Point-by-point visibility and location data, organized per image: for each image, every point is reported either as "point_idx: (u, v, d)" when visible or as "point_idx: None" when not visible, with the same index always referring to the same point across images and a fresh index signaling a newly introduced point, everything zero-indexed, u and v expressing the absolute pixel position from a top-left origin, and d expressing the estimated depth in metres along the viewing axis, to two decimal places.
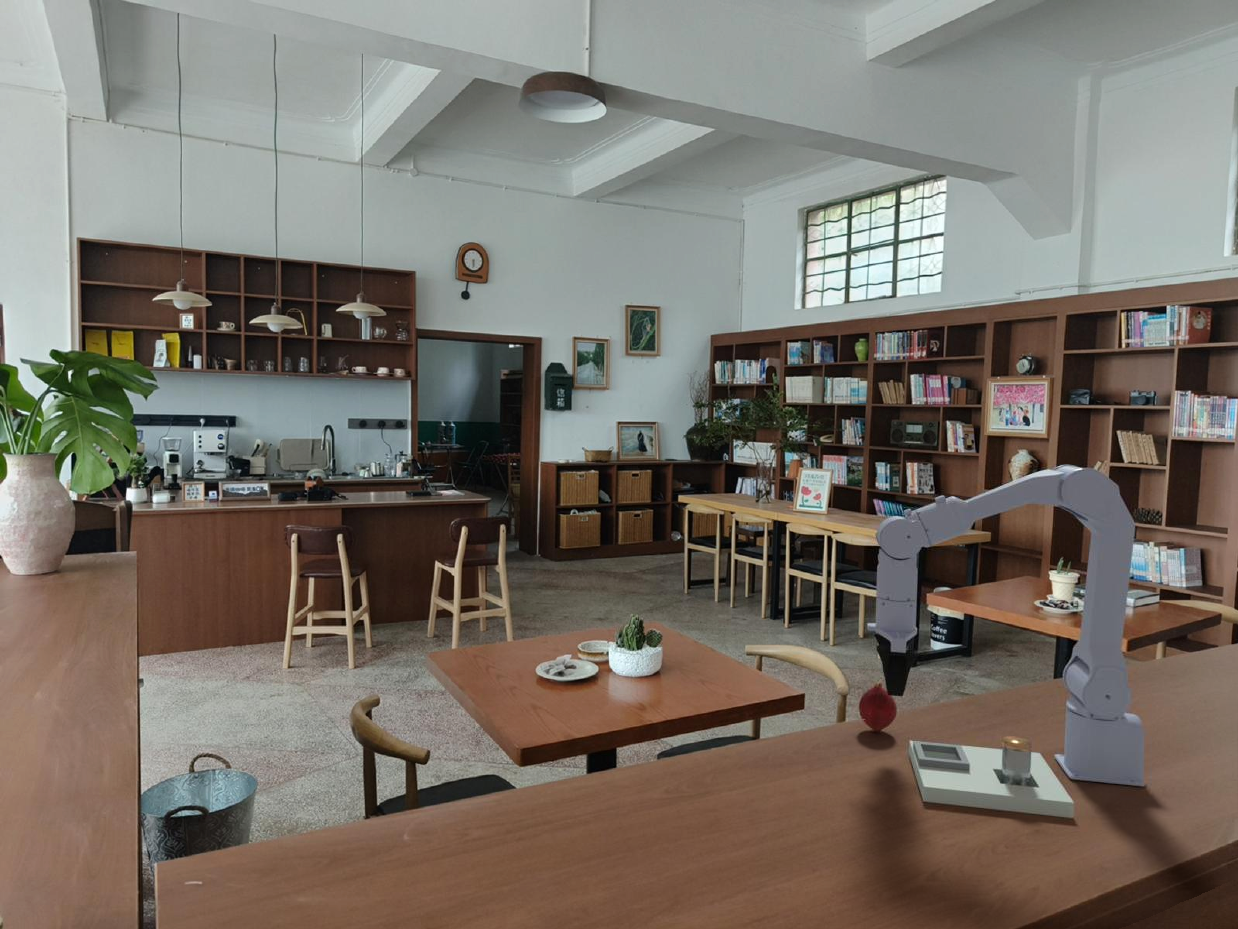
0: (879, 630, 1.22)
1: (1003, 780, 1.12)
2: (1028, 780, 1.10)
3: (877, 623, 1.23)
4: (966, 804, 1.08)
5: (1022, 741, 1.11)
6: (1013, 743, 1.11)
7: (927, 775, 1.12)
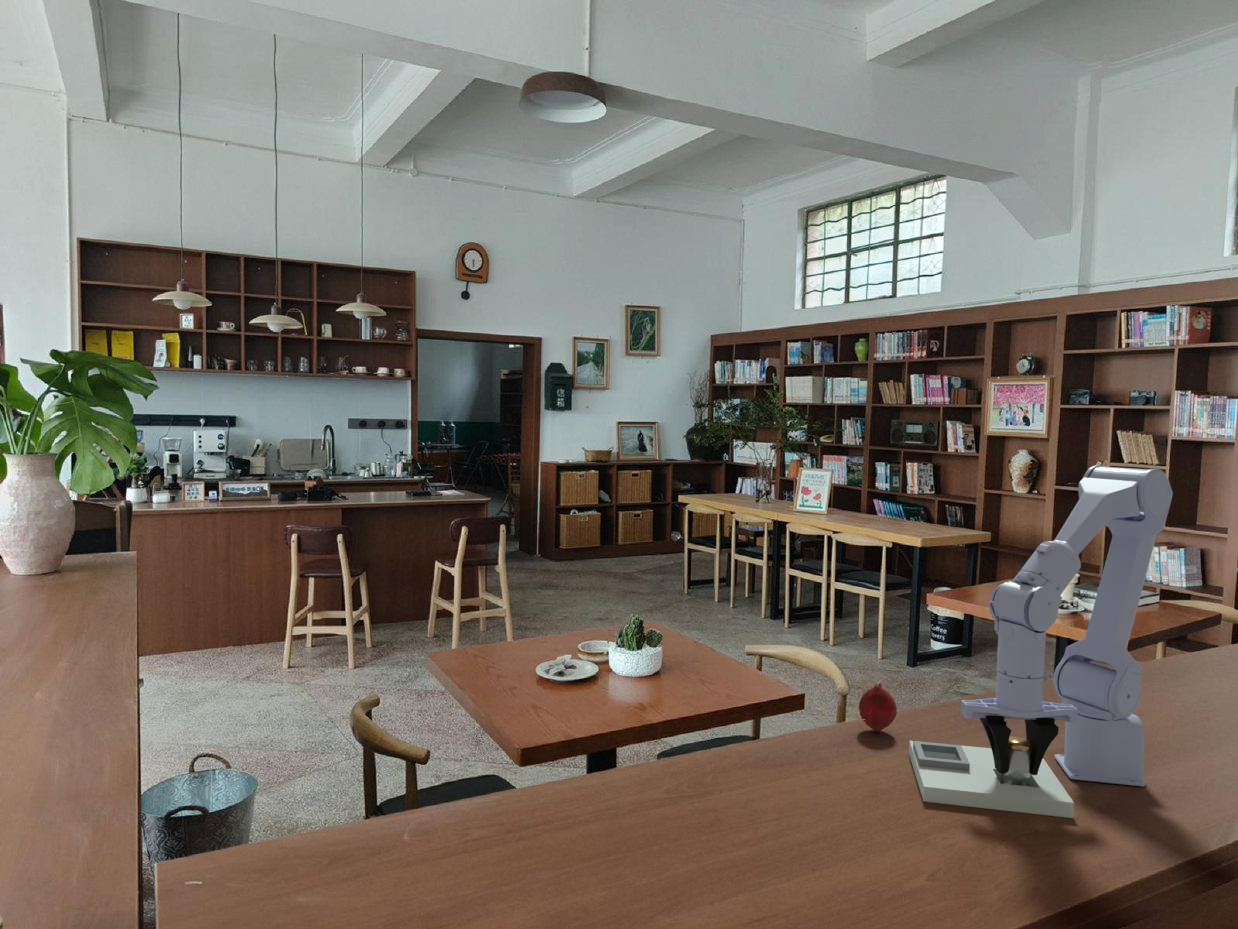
0: None
1: (1003, 780, 1.12)
2: (1028, 780, 1.10)
3: None
4: (966, 804, 1.08)
5: (1022, 741, 1.11)
6: (1013, 743, 1.11)
7: (927, 775, 1.12)
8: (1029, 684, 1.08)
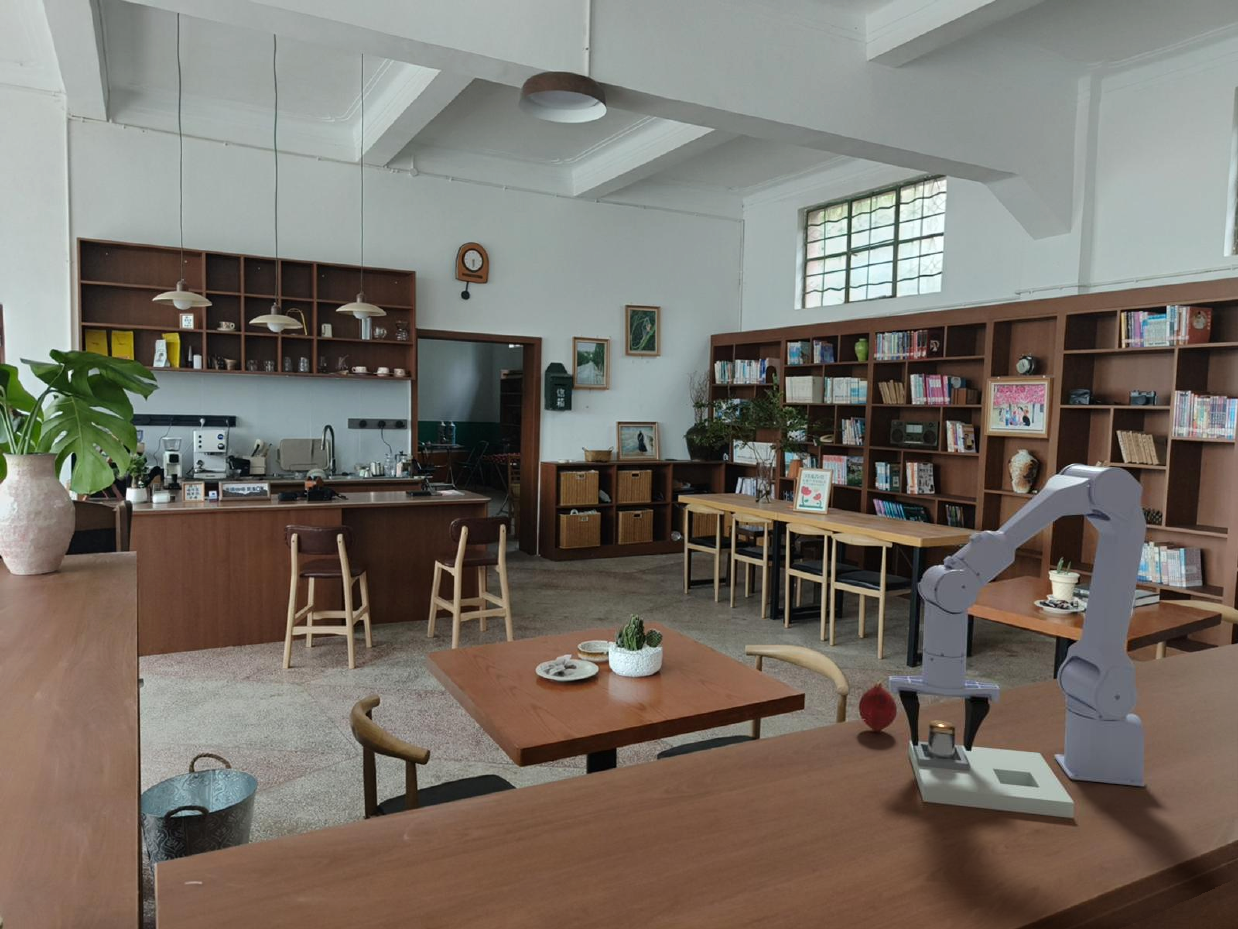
0: None
1: None
2: None
3: None
4: (966, 804, 1.08)
5: (946, 725, 1.17)
6: (937, 726, 1.16)
7: (927, 775, 1.12)
8: (948, 662, 1.14)
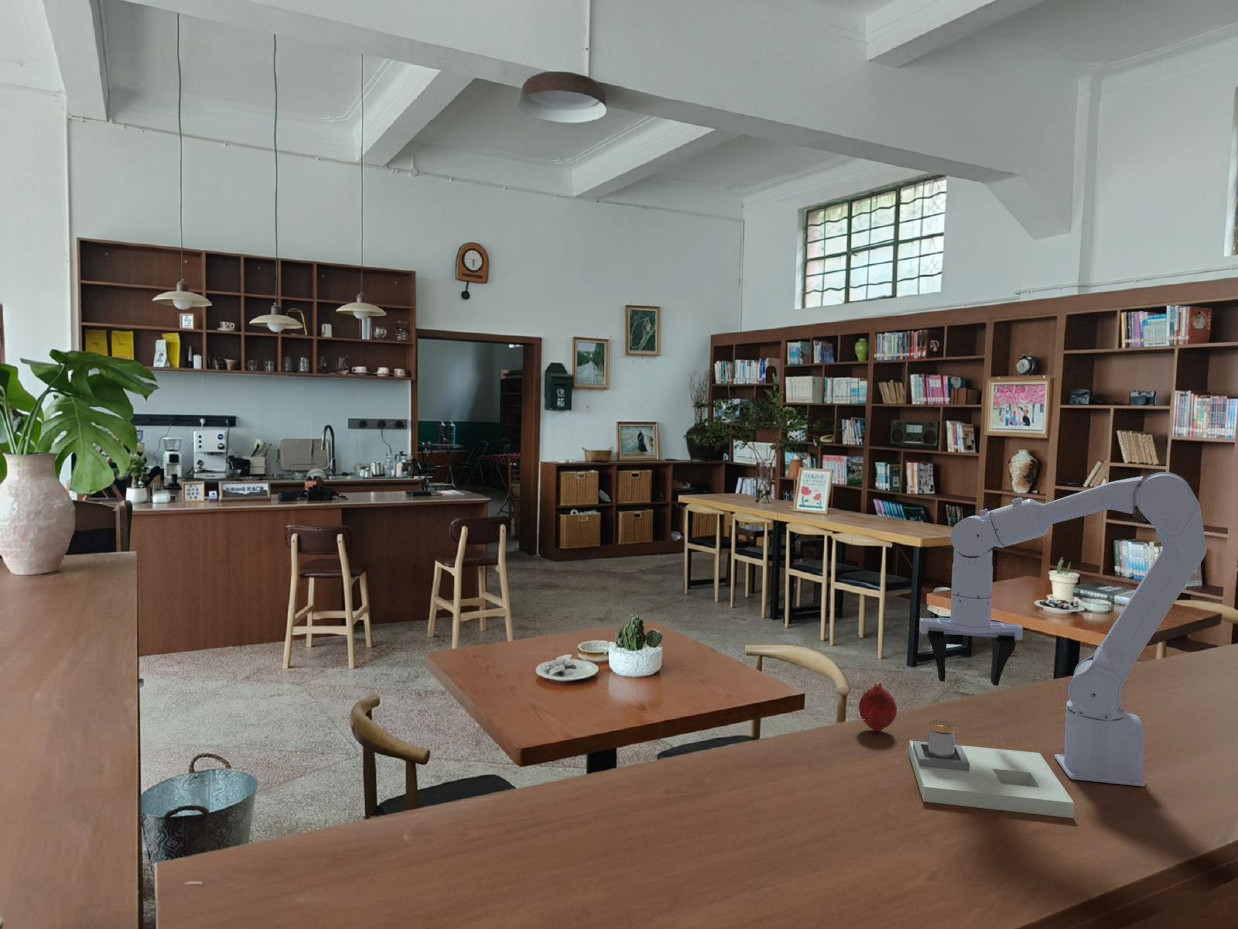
0: (951, 619, 1.30)
1: None
2: None
3: None
4: (966, 804, 1.08)
5: (946, 725, 1.17)
6: (937, 726, 1.16)
7: (927, 775, 1.12)
8: (975, 603, 1.24)
